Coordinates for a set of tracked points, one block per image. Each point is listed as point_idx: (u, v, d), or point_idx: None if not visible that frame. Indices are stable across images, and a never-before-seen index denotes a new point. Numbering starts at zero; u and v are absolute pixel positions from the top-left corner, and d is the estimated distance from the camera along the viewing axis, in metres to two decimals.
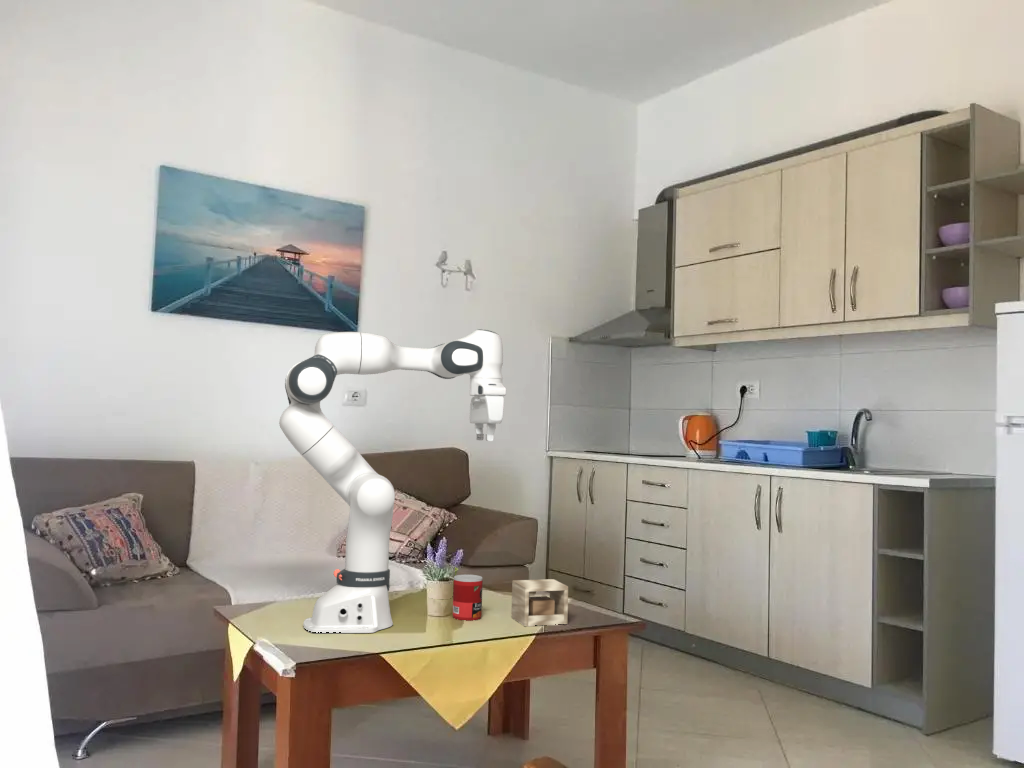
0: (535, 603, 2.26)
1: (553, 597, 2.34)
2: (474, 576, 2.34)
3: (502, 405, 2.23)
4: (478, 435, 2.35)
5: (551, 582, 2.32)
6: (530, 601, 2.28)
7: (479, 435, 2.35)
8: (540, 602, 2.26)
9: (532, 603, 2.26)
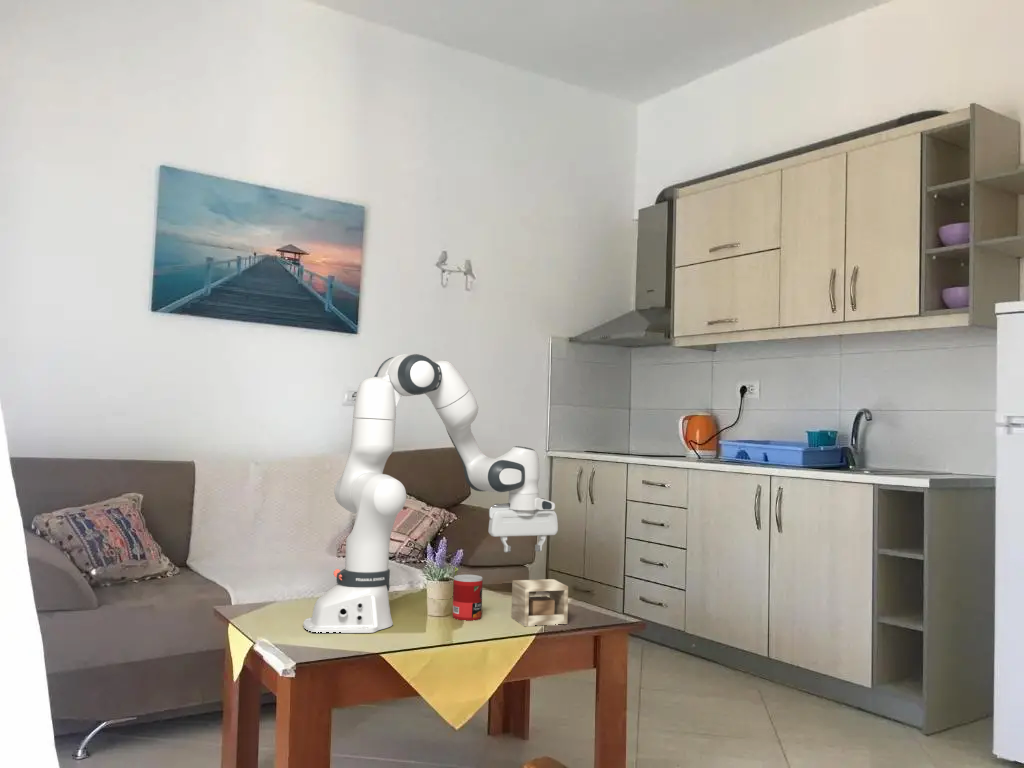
0: (535, 603, 2.26)
1: (553, 597, 2.34)
2: (474, 576, 2.34)
3: None
4: None
5: (551, 582, 2.32)
6: (530, 601, 2.28)
7: None
8: (540, 602, 2.26)
9: (532, 603, 2.26)
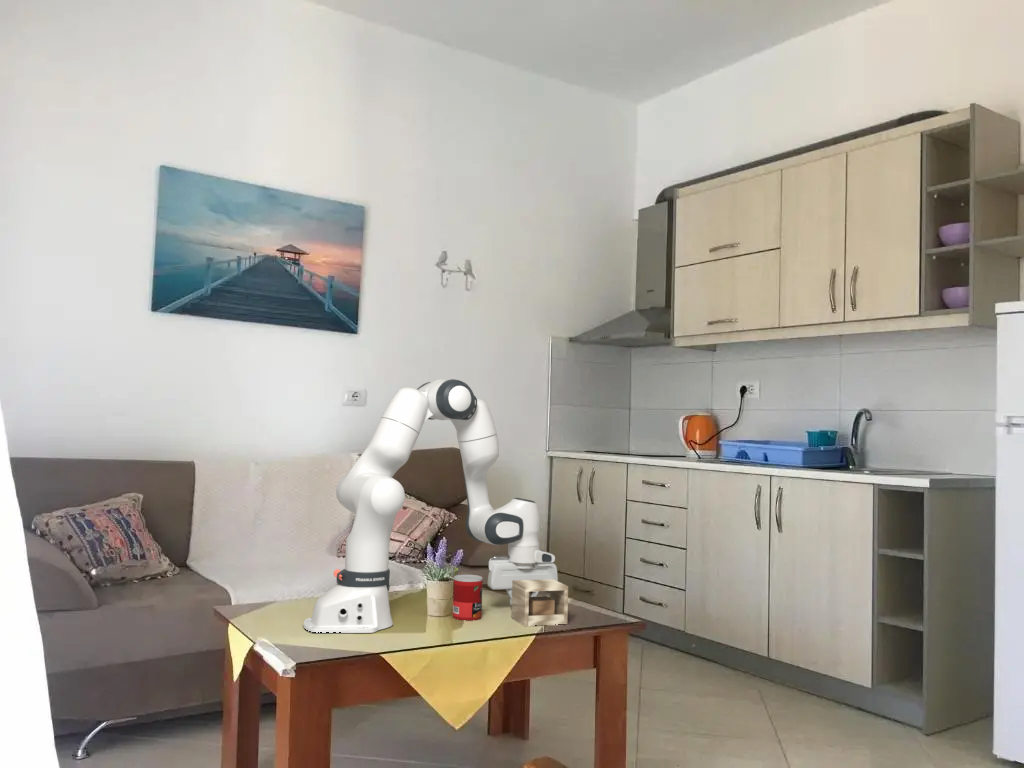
0: (535, 603, 2.26)
1: (553, 597, 2.34)
2: (474, 576, 2.34)
3: None
4: None
5: (551, 582, 2.32)
6: (530, 601, 2.28)
7: None
8: (540, 602, 2.26)
9: (532, 603, 2.26)
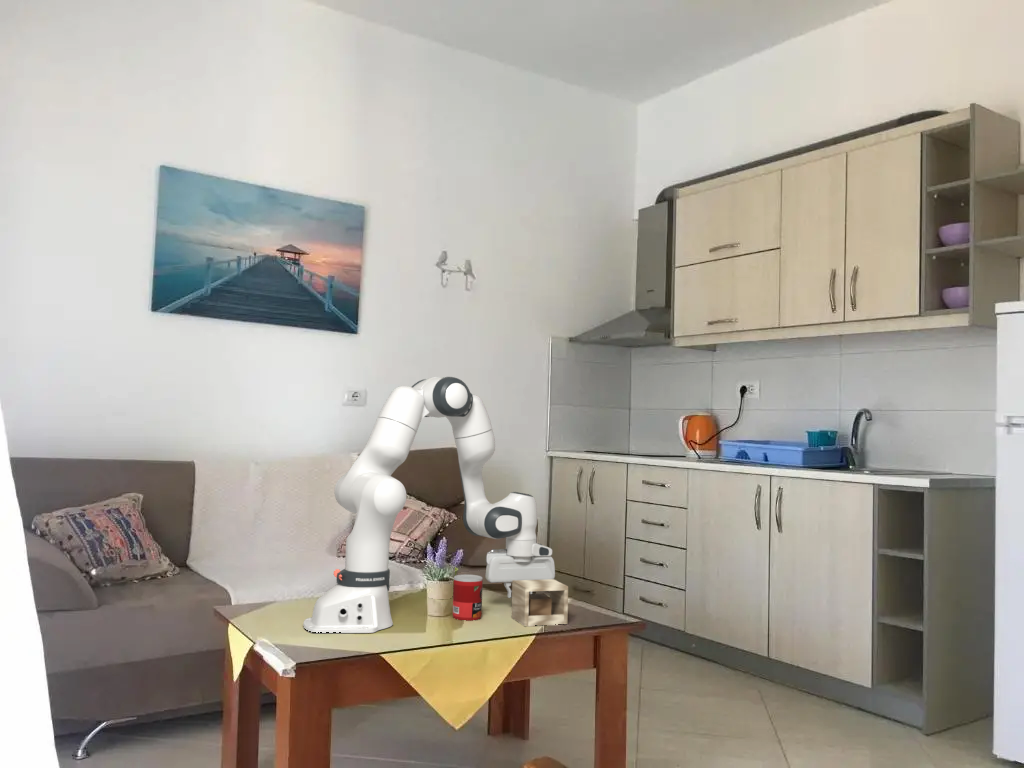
0: (532, 601, 2.28)
1: (553, 597, 2.34)
2: (474, 576, 2.34)
3: None
4: None
5: (551, 582, 2.32)
6: None
7: None
8: (537, 600, 2.28)
9: (529, 601, 2.28)
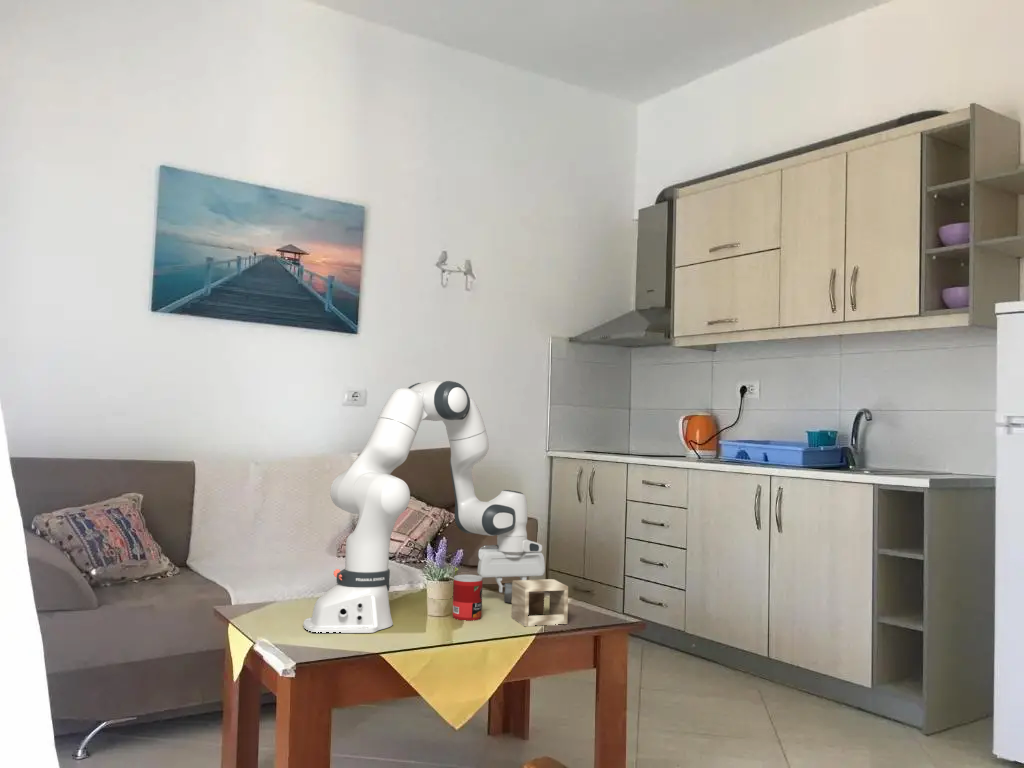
0: None
1: (553, 597, 2.34)
2: (474, 576, 2.34)
3: None
4: None
5: (551, 582, 2.32)
6: None
7: None
8: (531, 594, 2.36)
9: None
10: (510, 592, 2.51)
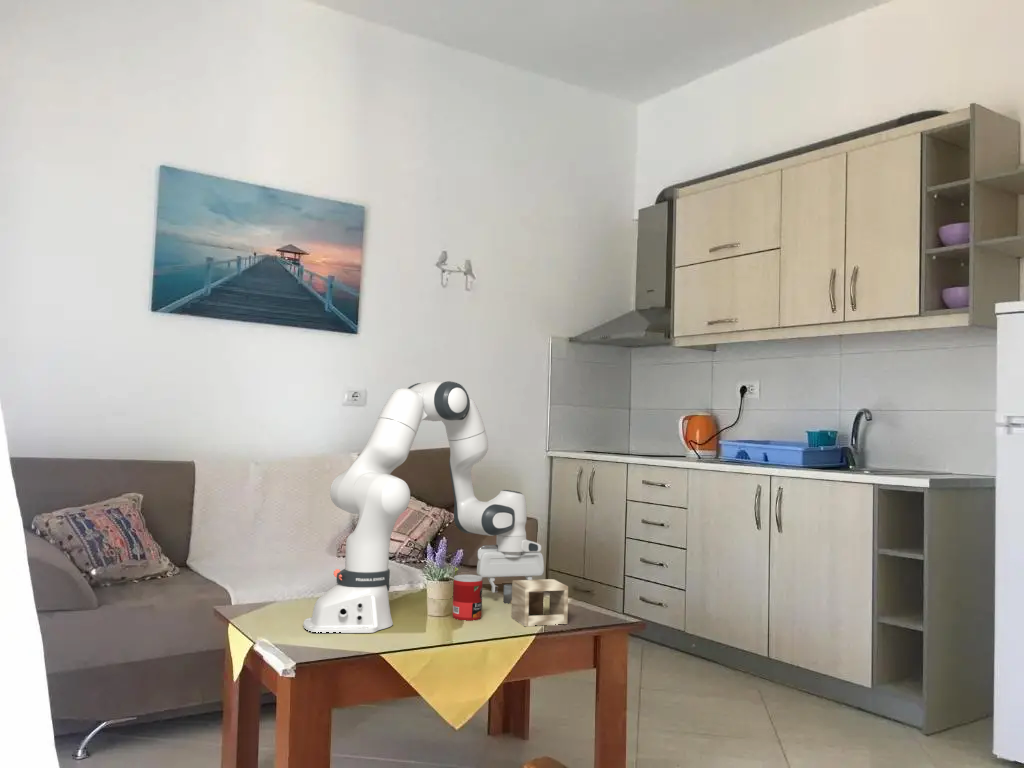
0: None
1: (553, 597, 2.34)
2: (474, 576, 2.34)
3: None
4: None
5: (551, 582, 2.32)
6: None
7: None
8: (530, 594, 2.37)
9: None
10: (509, 593, 2.51)
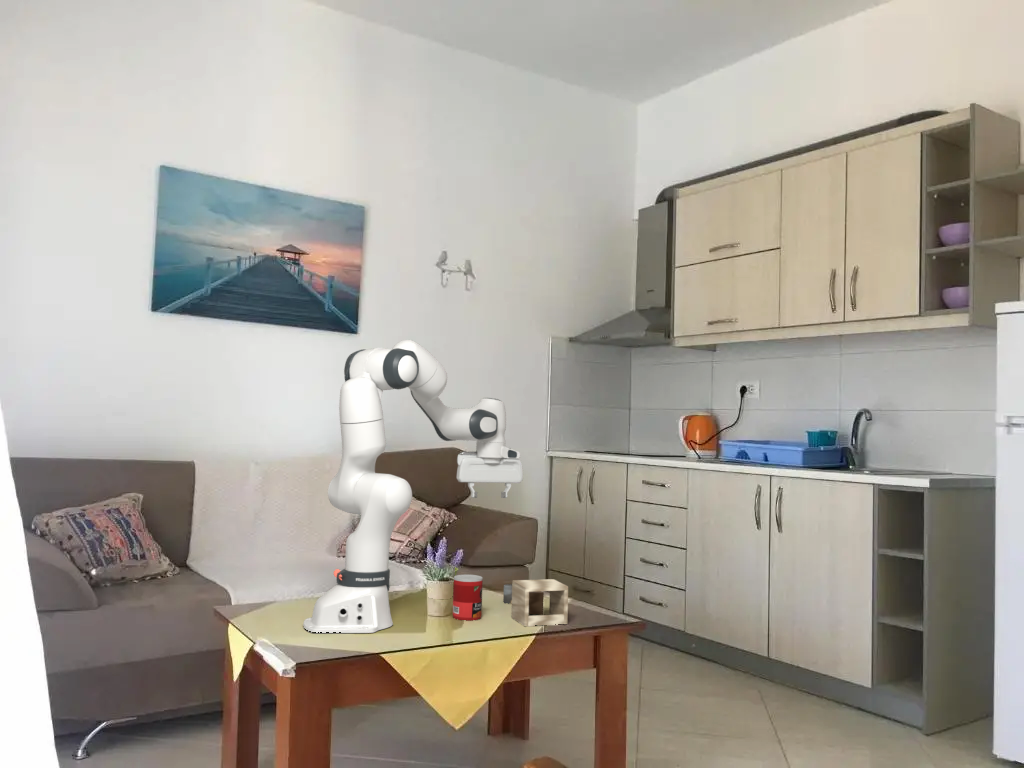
0: None
1: (553, 597, 2.34)
2: (474, 576, 2.34)
3: None
4: None
5: (551, 582, 2.32)
6: None
7: None
8: (530, 594, 2.37)
9: None
10: (509, 593, 2.51)
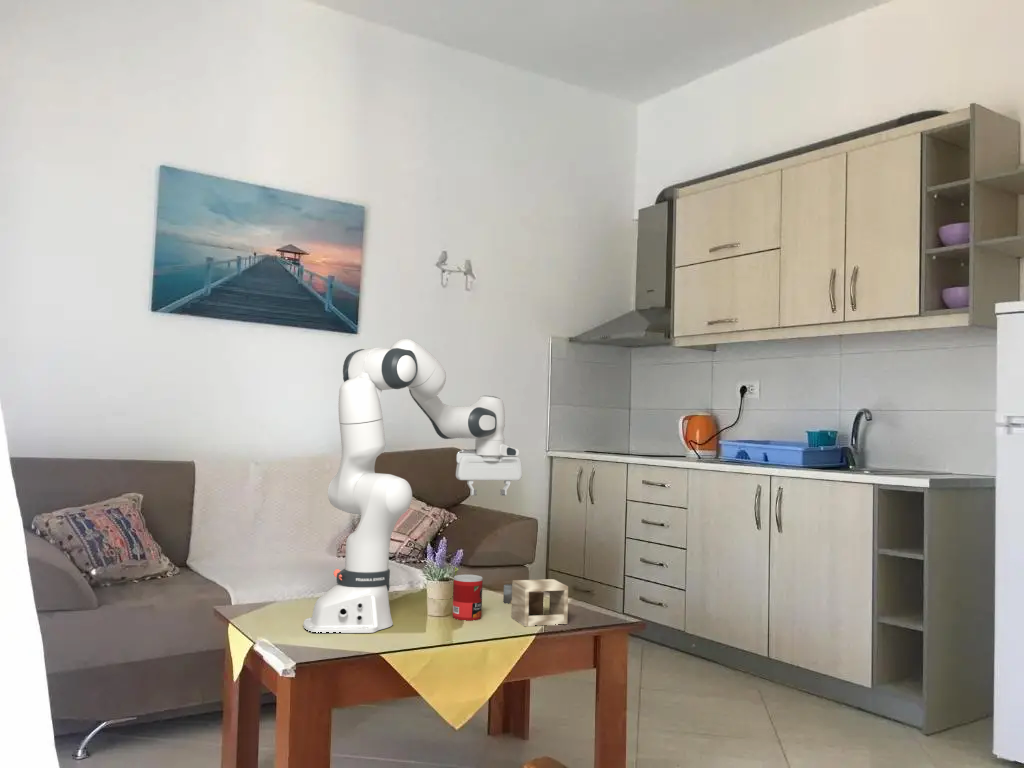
0: None
1: (553, 597, 2.34)
2: (474, 576, 2.34)
3: None
4: None
5: (551, 582, 2.32)
6: None
7: None
8: (530, 594, 2.37)
9: None
10: (509, 593, 2.51)
